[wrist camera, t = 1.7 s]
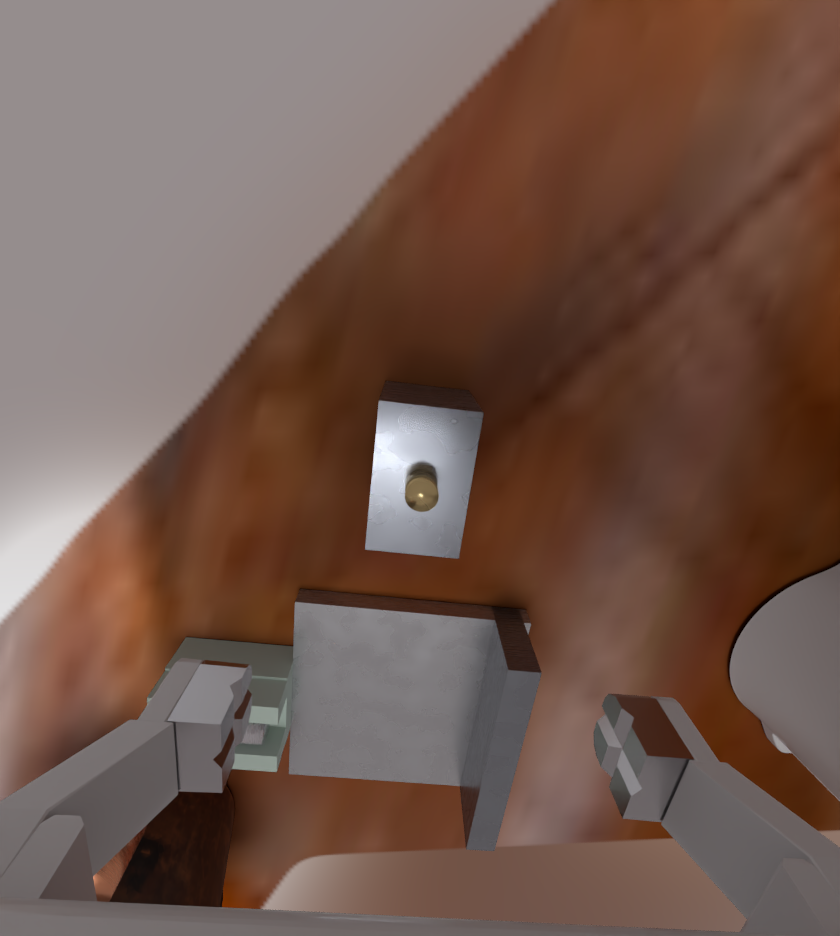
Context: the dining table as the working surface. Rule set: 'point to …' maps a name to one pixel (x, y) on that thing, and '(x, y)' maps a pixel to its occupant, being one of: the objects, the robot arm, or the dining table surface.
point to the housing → (422, 469)
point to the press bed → (413, 696)
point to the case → (182, 853)
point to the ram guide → (252, 692)
